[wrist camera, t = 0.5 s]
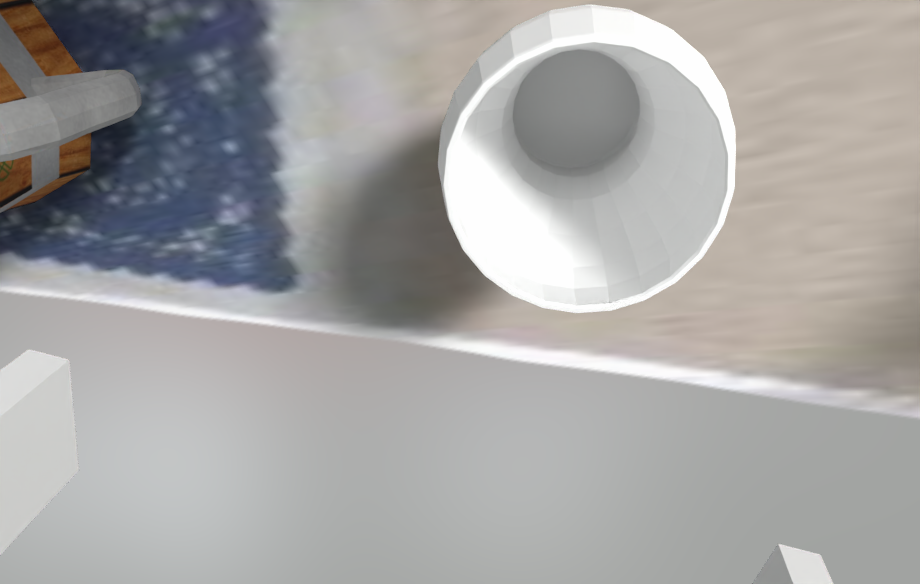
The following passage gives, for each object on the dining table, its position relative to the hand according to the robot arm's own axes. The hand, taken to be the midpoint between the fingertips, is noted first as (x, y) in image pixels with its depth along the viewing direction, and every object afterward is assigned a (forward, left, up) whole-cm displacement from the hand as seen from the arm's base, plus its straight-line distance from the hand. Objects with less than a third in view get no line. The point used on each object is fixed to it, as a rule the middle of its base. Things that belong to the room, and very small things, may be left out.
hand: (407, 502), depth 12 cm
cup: (-3, +3, -28) cm, 28 cm away
